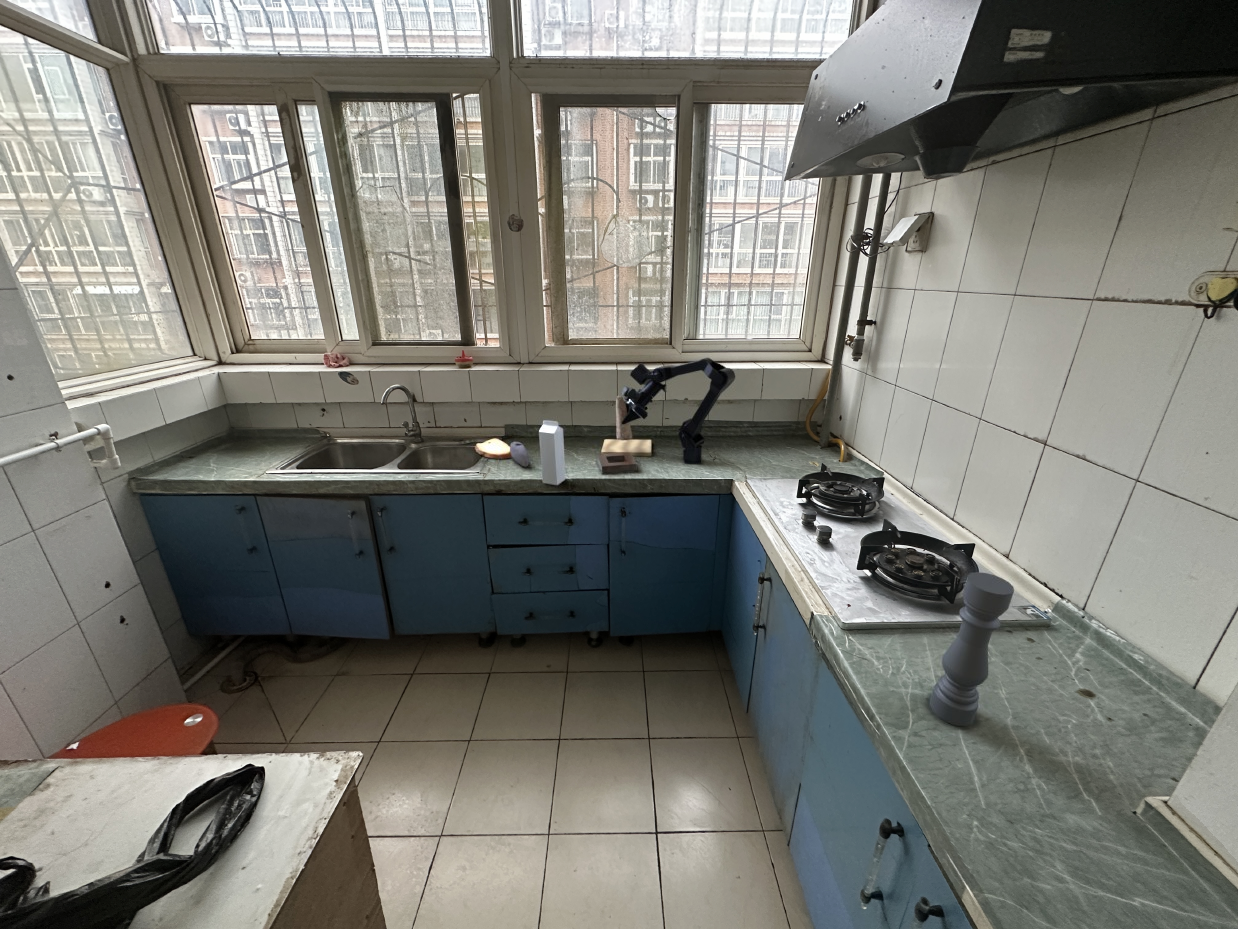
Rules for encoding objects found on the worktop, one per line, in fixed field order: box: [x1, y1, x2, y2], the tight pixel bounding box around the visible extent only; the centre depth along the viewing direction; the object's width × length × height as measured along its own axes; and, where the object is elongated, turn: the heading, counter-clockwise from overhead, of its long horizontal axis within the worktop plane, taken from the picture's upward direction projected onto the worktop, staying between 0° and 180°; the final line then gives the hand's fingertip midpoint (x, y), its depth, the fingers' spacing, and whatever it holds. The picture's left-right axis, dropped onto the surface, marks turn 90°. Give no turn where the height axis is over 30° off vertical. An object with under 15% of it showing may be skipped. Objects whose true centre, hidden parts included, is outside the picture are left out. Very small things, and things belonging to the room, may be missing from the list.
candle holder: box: [929, 571, 1015, 727], centre depth 78 cm, size 6×6×25 cm
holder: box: [596, 452, 638, 475], centre depth 187 cm, size 13×13×3 cm
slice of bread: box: [474, 437, 513, 460], centre depth 204 cm, size 18×18×4 cm
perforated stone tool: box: [509, 441, 530, 468], centre depth 191 cm, size 15×5×7 cm, turn 26°
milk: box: [538, 419, 566, 486], centre depth 171 cm, size 6×6×22 cm
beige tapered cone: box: [615, 395, 633, 441], centre depth 195 cm, size 6×18×6 cm
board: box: [600, 438, 652, 457], centre depth 206 cm, size 20×16×2 cm
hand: (620, 422), depth 195 cm, fingers closed on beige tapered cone, 4 cm apart
